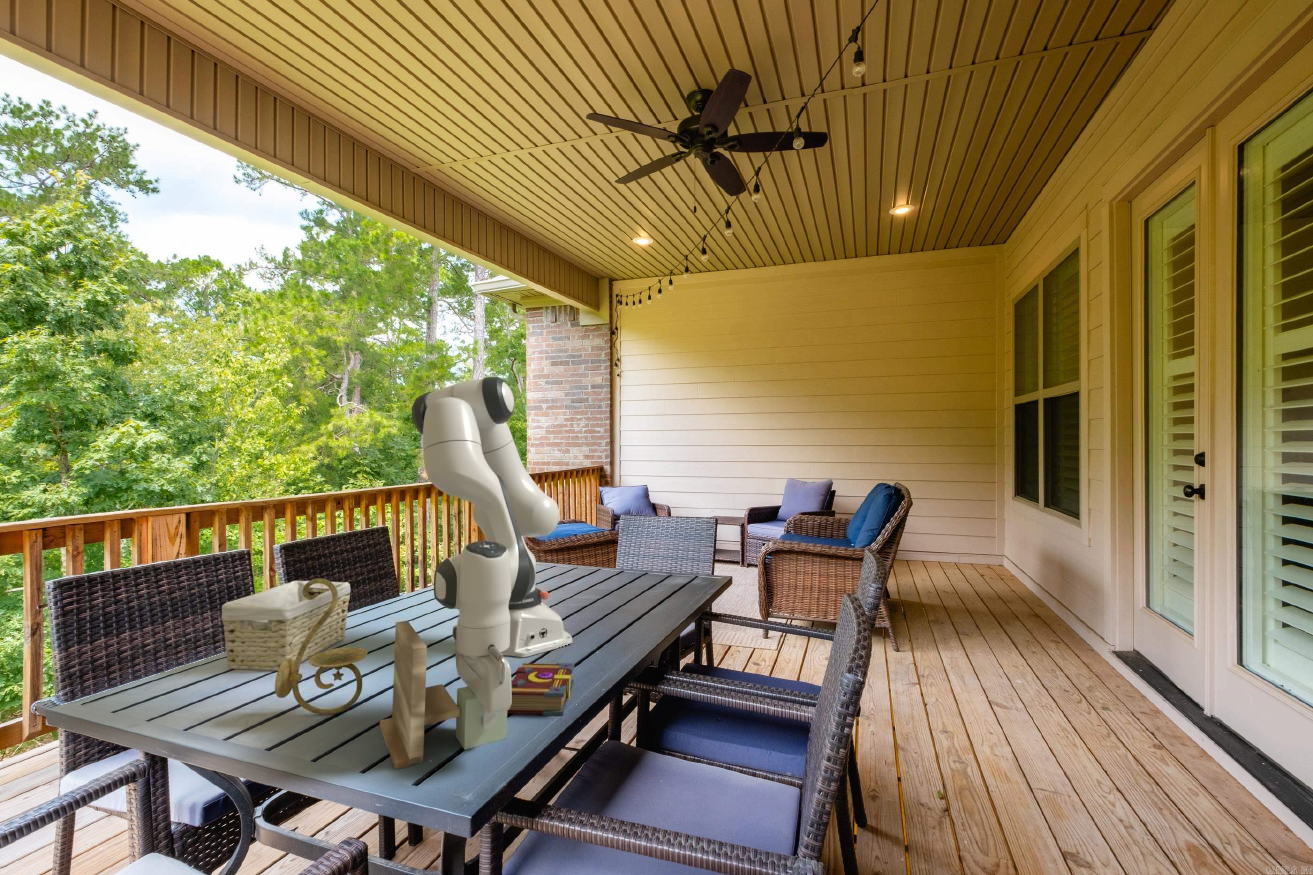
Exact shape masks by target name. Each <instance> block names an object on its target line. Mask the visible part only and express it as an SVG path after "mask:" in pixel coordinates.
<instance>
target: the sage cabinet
mask: <svg viewBox="0 0 1313 875" xmlns="http://www.w3.org/2000/svg"><path fill="white" fill-rule="evenodd" d="M456 690H457V691H456V705H457V706H458V708H459V709H460V717H456V718H455V719H456V720H455V726H456V727H455V737H456V738H457V739H458V741H459V744H460V745H461V746H462V748H463V750H464V751H466V750H469V749H473V748H476V747H481V746H484V745H487V744H490V743H491V744H492V743H495V742H498V741H502V740H505V739H507V729H508V726H507V725H508V713H507V711H504V712H500V713H496V714H495V717H494V726H493V727H492V728H489V729H486V730H485V729H484V728H483V727H482V725H481V716H483V711H484V709H483V705H482V704H481V703H480V702H479V700H478V699H477V698H476V697H475V695H474V694H473V693H472V691H471V690H470V689H469V688H468V687H467V686H463V687H460V688H457V689H456Z"/></svg>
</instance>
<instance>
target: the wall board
mask: <svg viewBox="0 0 1313 875" xmlns="http://www.w3.org/2000/svg"><path fill="white" fill-rule="evenodd" d="M394 629H395V632H394V633H395V634H394V656H393V657H394V661H393V684H392V685H393V689H392V713H391V714H392V716H391V717H390V718H385V719H381V720H379V728H380V730H381V731H380V732H381V733H382V736H383V739H384V741H385V744H386V748H387V750H388V752H389V755H390V758H391V761H392V764H393V767H394V769H395V770H397V769H402V768H406V767H409V766H414V765H417V764H420V763H423V762H424V744H425V743H424V741H425V725H429V724H434V723H439V722H443V721H447V720H451V719H456V717H460V709H459V708H458V706H457V702H455V701H454V699H453V697H452V696H451V695H450V693H449V692H448V690H447V689H446V688H445V685H444V684H443V683H441V684H436V685H431V686H427V687H426V684H427V682H426V681H427V659H428V658H427V654H428V646H427V645H426V644H425V642H424V641H423V639H422V638H421V637H420V635H419V634H418V632H417V631H416V630H415V628H414V627H413V626H412V624H411V623H410V621H408V620H403V621H395V628H394Z"/></svg>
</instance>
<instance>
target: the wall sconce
mask: <svg viewBox="0 0 1313 875" xmlns="http://www.w3.org/2000/svg"><path fill="white" fill-rule="evenodd" d="M308 581H309V582H308V583H306V584H305V586H304V587H303V590H302V593H303V596H304V597H305V598H306V599H308V600H312V599H315V598H316V597H317V596H318V595H319V592H314V594H309V592H308V588H309V587H310V586H311V585H313V584H316V583H321V584H324V585H326V586H328V587H329V588H330V590H331V592H332V603H331V605H330V607H329V609H328V610H327V611H326V613H325V614H324V615H323V616H322V618H321V619H320V620H319V621H318V622H317V624H316V625H315V626H314V627H313V629H312V630H311V631H310V633H309V634H308V635H307V637H306V638H305V640H304V642H303V644H302V646H301V647H300V650H299V652H298V654H297V657H296V660H295V661H294V659H291V658H288V659H286V660H284V661H283V663H282V664H281V666H280V667H279V670H278V671H276V676H275V679H274V680H275V681H274V682H275V683H274V692H275V695H276V697H277V698H278V699H283V698H286V697H287V696H288V695H289V694H290V693H291V692H292V693H293V697H294V700H295V701H296V702H297V704H298V705H300V707H301V708H303V709H304V710H306V711H308V712H310V713H313V714H316V715H322V716H324V715H325V716H326V715H334V714H335V715H336V714H339V713H342V712H344V711H346V710H348V709H349V708H351V707H352V706H353V705H354V704H355V703H356V702H357V701H358V700H359V698H360V696H361V694H362V690H363V677H362V673H361V671H360V669H359V668H358V667H357V666H356V665H355V663H358V662H359V661H362V660H364V658H366V657H367V655H368V651H367V650H366V648H361V647H354V646H352V647H351V646H350V647H347V646H346V647H337V648H332V649H327V650H323V651H321V652H319V653H317V654H315V655H313V656H312V657H310V658H309V659H308V663H309V664H310V665H311V666H312V667H316V668H318V669H317V670H316V672H315V674H314V683H315V685H316V686H317V688H318V689H321V690H328V689H332V688H333V687H334V686H335V684H334V683H331V682H330V683H323V681H322V680H321V676H322V674H323V672H325V671H326V670H329V669H334V670H336V672H335V673H331V674H332V676H333V682H335V681H343V679H342V677H343V676H344V675H345V673H343V672H340V671H341V669H343V668H344V669H345V668H347V669H349V670H350V671H352V673H353V675H354V677H355V679H356V689H355V690H356V691H355V693H354V695H353V696H352V698H351V699H350V700H349V701H348V702H347V703H345V704H343V705H341V706H338V707H334V708H333V707H332V708H319V707H316V706H313V705H312V704H310V703H308V702H307V701H306V700H305V699H304V698H303V697H302V695H301V693H300V688H299V682H300V681H301V680H302V679H303V674H302V673H299V672H300V667H301V663H302V662H301V660H302V657H303V654H304V652H305V650H306V648H307V646H308V644H309V642H310V641H311V639H312V638H313V636H314V635H315V633H316V632H317V631H318V630H319V628H320V627H321V626H322V625H323V623H324V622H325V621H326V620H327V619H328V617H329V616H330V615H331V613H332V612H333V610H334V609H335V607H336V605H337V601H338V592H337V589H336V587H335V586H334V584H333V583H332V582H333V581H331V580H328V579H326V578H323V577H322V578H321V577H320V578H313V579H311V580H308Z"/></svg>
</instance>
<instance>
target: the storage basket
mask: <svg viewBox="0 0 1313 875" xmlns="http://www.w3.org/2000/svg"><path fill="white" fill-rule="evenodd" d="M309 581H310V580H291V582H288V583H284V584H281V585H278V586H274V587H271V588H269V589H268V588H267V589H265V590H263V591H260V592H257V593H253V594H250V595H247V596H245V597H240V598H238V599H235V600H232V601H227V602H225V603H224V604H222V606H221V621H222V625H223V631H224V641H225V645H224V646H225V651H226V652H225V653H226V655H227V656H226V660H227V663H226V665H227V667H228V668H229V669H234V670H250V671H251V670H253V671H273V672H278V670H279V667H280V666H281V664H282V663H283V661H284V660H286V659H288V658H291V659H294V661H295V660H296V657H297V654H298V652H299V650H300V647H301V646H302V644H303V642H304V640H305V638H306V637H307V635H308V634H309V633H310V631H311V630H312V629H313V627H314V626H315V625H316V624H317V622H318V621H319V620H320V619H321V618H322V616H323V615H324V614H325V613H326V611H327V610H328V609H329V607H330V605H331V603H332V592H331V590H330V588H329V587H328V586H326V585H324V584H321V583H316V584H313V585H311V586H310V587H309V588H308V593H309V592H310V593H316V592H317V593H318V596H317V597H316V598H315V599H312V600H308V599H306V598H305V597H304V596H303V593H302V590H303V587H304V586H305V584H306V583H308V582H309ZM331 582H332V583H333V584H334V586H335V587H336V589H337V592H338V601H337V605H336V607H335V609H334V610H333V612H332V613H331V615H330V616H329V617H328V619H327V620H326V621H325V622H324V623H323V625H322V626H321V627H320V628H319V630H318V631H317V632H316V633H315V635H314V636H313V638H312V639H311V641H310V642H309V644H308V646H307V648H306V650H305V652H304V654H303V657H302V660H301V663H303V662H304V661H306V660H309V659H310V658H311V657H312V656H313V655H315V654H317V653H320V652H323V651H326V649H327V648H329V647H332V646H333V645H334V644H337V643H339V642H340V641H342V640H344V639H345V638H346V637H347V635H346V627H347V617H348V607H349V601H350V599H351V597H350V596H351V595H350V593H351V584H350V583H349V582H348V581H346V582H341V581H340V582H339V581H331Z"/></svg>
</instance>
